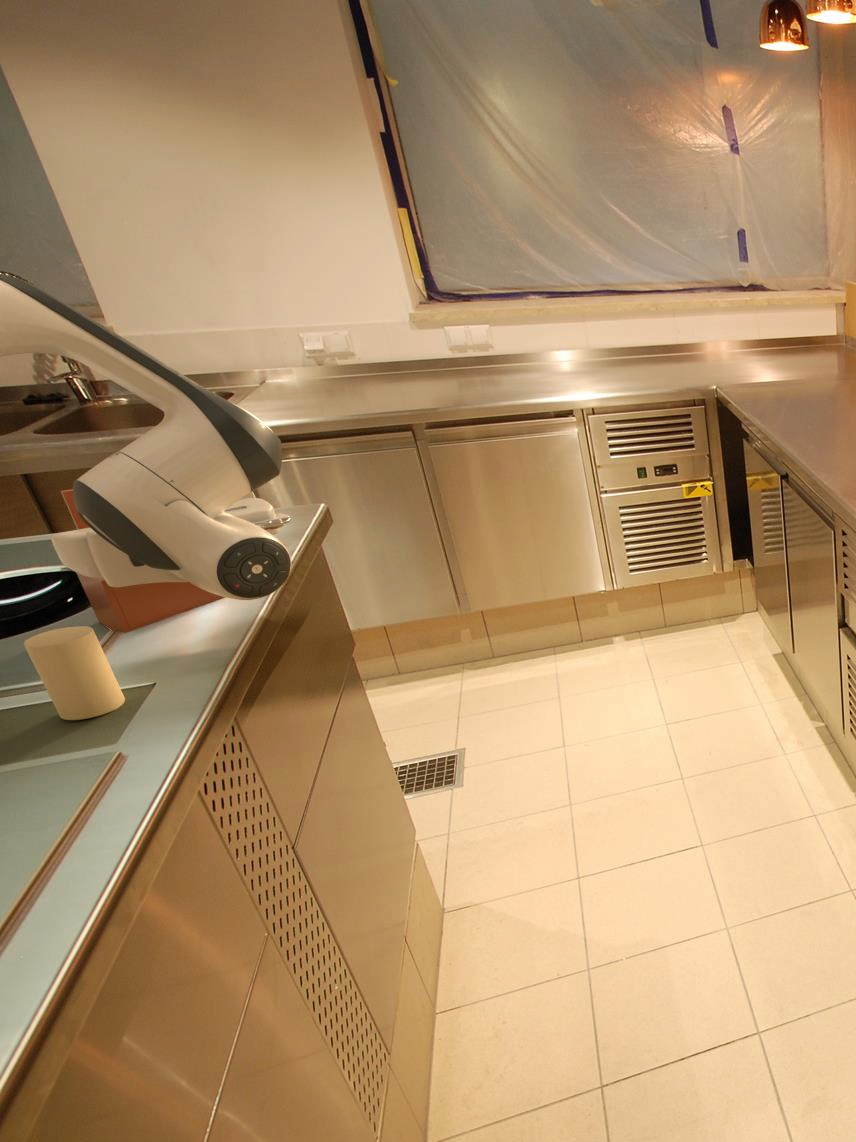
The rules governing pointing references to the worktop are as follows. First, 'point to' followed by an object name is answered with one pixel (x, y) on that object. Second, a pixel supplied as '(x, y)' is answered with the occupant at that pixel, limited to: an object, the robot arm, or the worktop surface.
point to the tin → (141, 602)
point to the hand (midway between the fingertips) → (150, 520)
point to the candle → (75, 672)
